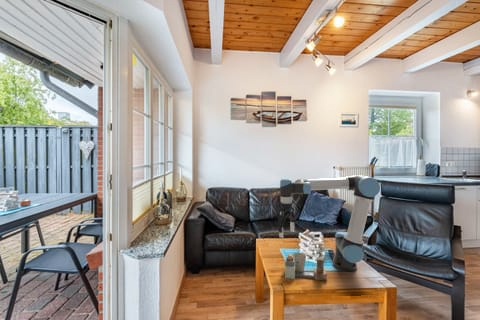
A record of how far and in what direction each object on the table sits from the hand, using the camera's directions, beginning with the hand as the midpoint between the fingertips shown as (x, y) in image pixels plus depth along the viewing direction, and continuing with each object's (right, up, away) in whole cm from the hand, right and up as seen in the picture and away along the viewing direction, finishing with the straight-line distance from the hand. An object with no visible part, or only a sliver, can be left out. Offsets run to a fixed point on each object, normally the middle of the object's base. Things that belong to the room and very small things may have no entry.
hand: (287, 234), depth 151 cm
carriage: (+19, -25, -8) cm, 32 cm away
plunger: (+1, -15, -4) cm, 16 cm away
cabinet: (+1, -25, -4) cm, 25 cm away
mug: (+7, -25, +3) cm, 26 cm away
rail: (+13, -25, -7) cm, 29 cm away
